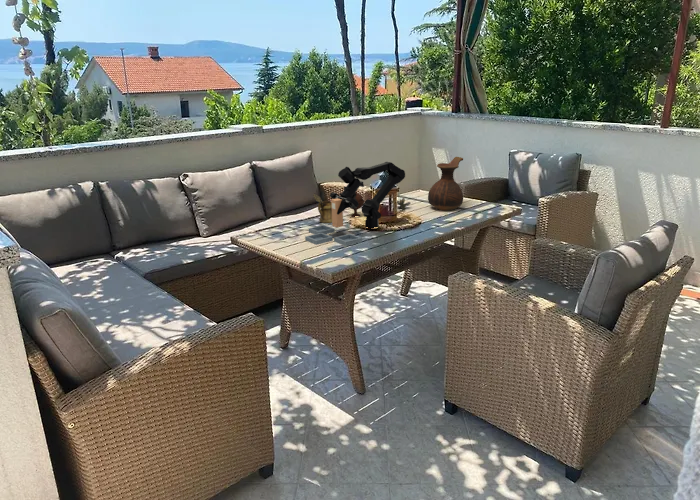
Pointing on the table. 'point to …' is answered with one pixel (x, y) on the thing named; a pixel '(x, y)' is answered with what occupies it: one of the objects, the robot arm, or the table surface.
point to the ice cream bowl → (361, 202)
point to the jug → (446, 188)
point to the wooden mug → (324, 209)
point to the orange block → (336, 219)
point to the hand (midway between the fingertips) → (335, 213)
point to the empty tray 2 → (348, 239)
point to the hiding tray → (318, 238)
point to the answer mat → (337, 234)
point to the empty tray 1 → (321, 229)
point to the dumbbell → (403, 204)
